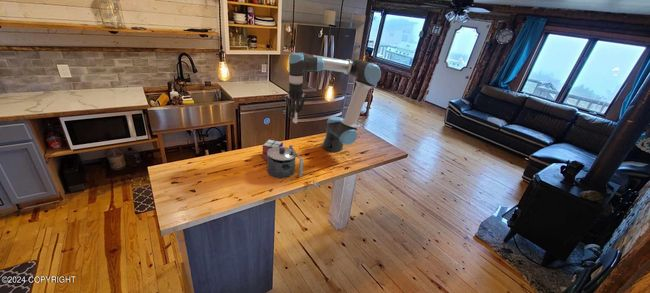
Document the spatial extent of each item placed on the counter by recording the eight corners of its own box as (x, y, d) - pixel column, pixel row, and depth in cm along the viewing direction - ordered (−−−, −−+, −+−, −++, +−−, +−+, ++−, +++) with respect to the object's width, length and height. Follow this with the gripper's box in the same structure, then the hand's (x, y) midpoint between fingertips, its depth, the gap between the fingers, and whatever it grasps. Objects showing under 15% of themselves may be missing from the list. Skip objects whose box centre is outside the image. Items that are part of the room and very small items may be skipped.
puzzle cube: (277, 162, 172) (277, 148, 168) (262, 159, 173) (262, 145, 169) (282, 155, 181) (283, 141, 176) (268, 152, 182) (268, 139, 178)
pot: (291, 160, 175) (291, 144, 170) (302, 177, 159) (303, 159, 154) (263, 164, 167) (263, 147, 162) (272, 182, 151) (273, 164, 146)
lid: (292, 148, 169) (292, 142, 167) (301, 160, 156) (302, 154, 154) (263, 149, 161) (264, 143, 159) (271, 163, 148) (272, 156, 146)
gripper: (304, 80, 155) (302, 119, 165) (282, 81, 149) (282, 121, 160) (309, 83, 149) (307, 123, 159) (286, 84, 143) (286, 126, 154)
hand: (295, 122), depth 159 cm, fingers closed
